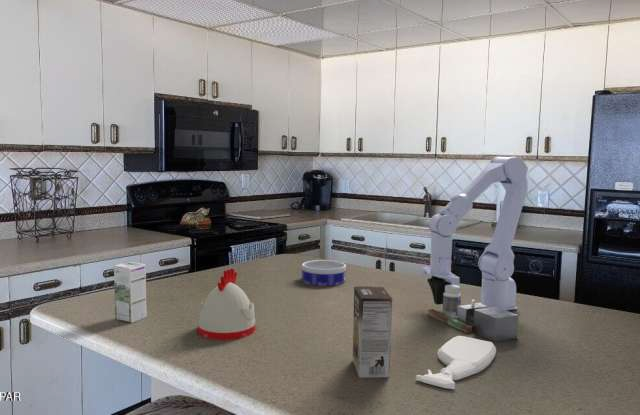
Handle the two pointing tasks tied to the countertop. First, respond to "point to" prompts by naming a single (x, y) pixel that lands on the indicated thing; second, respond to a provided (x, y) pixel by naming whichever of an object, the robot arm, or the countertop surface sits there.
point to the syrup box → (130, 291)
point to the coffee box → (372, 331)
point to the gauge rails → (450, 321)
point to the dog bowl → (323, 272)
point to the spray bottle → (460, 360)
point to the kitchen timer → (226, 311)
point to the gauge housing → (495, 324)
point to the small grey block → (469, 312)
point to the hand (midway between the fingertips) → (438, 303)
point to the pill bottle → (451, 300)
